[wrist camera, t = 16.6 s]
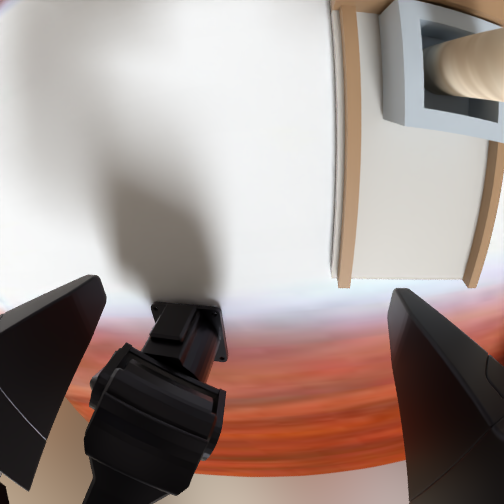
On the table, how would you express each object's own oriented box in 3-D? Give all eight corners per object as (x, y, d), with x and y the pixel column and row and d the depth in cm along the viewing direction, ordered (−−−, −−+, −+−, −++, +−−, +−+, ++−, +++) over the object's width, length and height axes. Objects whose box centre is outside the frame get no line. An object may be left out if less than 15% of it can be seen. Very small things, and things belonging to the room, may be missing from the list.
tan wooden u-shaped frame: (469, 272, 21) (499, 319, 15) (330, 270, 23) (335, 324, 17) (490, 21, 11) (538, 10, 6) (328, -12, 13) (336, -51, 8)
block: (474, 132, 15) (509, 144, 11) (382, 119, 16) (404, 126, 12) (472, 37, 12) (507, 29, 8) (378, 16, 13) (397, -4, 9)
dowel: (458, 98, 13) (542, 112, 6) (414, 91, 14) (488, 96, 7) (456, 52, 12) (538, 41, 5) (412, 43, 12) (482, 17, 6)
